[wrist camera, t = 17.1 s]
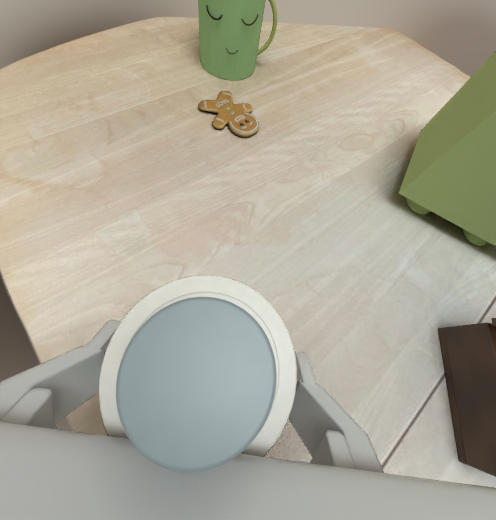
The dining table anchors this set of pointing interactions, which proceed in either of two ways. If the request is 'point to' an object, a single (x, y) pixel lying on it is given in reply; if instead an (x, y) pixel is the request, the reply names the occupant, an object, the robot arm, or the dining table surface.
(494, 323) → the chest lid
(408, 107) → the dining table surface
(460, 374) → the chest
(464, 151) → the container
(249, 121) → the cookie
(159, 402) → the bottle
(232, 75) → the mug
